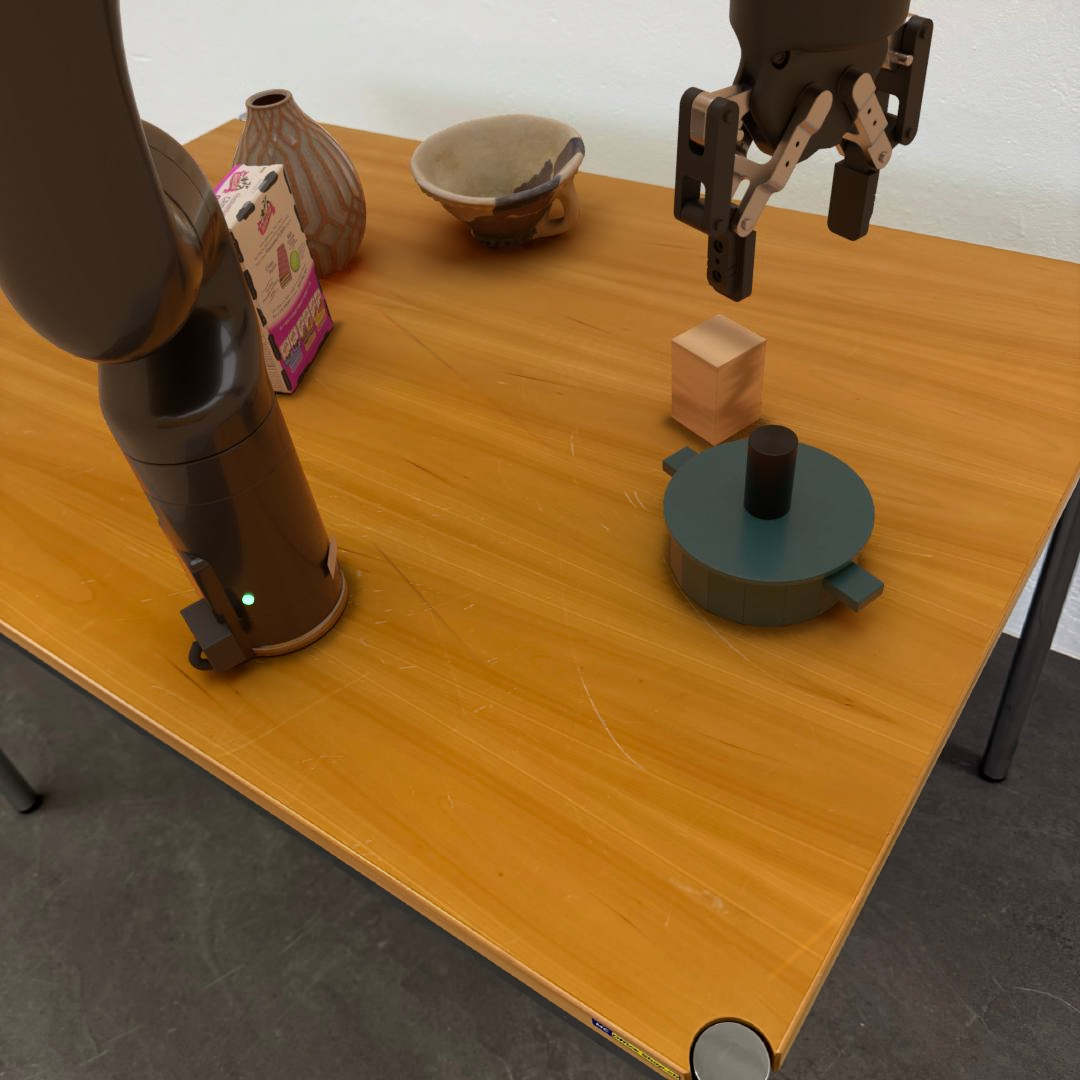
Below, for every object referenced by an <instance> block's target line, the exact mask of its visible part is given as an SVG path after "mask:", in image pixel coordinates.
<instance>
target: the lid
mask: <svg viewBox="0 0 1080 1080" xmlns="http://www.w3.org/2000/svg"><path fill="white" fill-rule="evenodd" d="M662 505H663V507H662V511H663V512H662V514H663V520H664V521H663V522H664V524H665V527H666V530H667V532H668V535H669V537H670V536H671V538H672V539H673V541H674V543H675V544H676V545H677V546H678V548H679V549H680V550H681V551H682V552H683V553H684V554H685V555H686V556H687V557H688V558H689V559H691V560H692V561H694V562H695V563H696V564H698V565H699V566H701V567H702V568H704V569H706V570H708V571H710V572H712V573H714V574H716V575H719V576H721V577H724V578H727V579H730V580H733V581H737V582H741V583H746V584H751V585H760V586H790V585H798V584H803V583H808V582H812V581H816V580H819V579H822V578H825V577H827V576H829V575H831V574H834V573H836V572H838V571H839V570H841V569H842V568H844V567H846V566H847V565H848V564H850V563H851V562H852V561H853V560H854V559H856V558H857V556H858V555H859V556H860V554H861V553H862V552H863V551H864V550H865V548H866V546H867V545H868V543H869V541H870V539H871V536H872V534H873V531H874V526H875V520H876V511H875V510H876V509H875V504H874V499H873V496H872V494H871V492H870V489H869V488H868V486H867V484H866V483H865V481H864V480H863V479H862V477H861V476H860V475H859V474H858V473H857V472H856V471H855V469H853V468H852V467H851V466H850V465H848V464H847V463H846V462H844V461H843V460H841V459H840V458H838V457H837V456H835V455H834V454H831V453H830V452H828V451H825V450H823V449H821V448H818V447H816V446H814V445H810V444H807V443H803V442H800V441H799V437H798V435H797V433H796V432H794V430H792V429H791V428H789V427H788V426H784V425H781V424H771V423H770V424H765V425H761V426H758V427H756V428H755V429H753V430H752V431H751V432H750V434H749V435H748V438H742V439H737V440H732V441H731V440H730V441H727V442H724V443H723V442H722V443H719V444H717V445H715V446H712V447H708V448H706V449H704V450H702V451H700V452H698V454H697V455H695V456H694V457H692V458H691V459H689V460H688V461H687V462H686V463H684V464H683V465H682V466H681V467H680V468H679V469H678V470H677V472H676V473H675V474H674V475H673V477H671V478H670V480H669V482H668V483H667V485H666V488H665V491H664V495H663V502H662Z"/></svg>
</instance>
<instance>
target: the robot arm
mask: <svg viewBox="0 0 1080 1080" xmlns="http://www.w3.org/2000/svg"><path fill="white" fill-rule="evenodd" d="M911 1H912V0H729V9H728V19H729V24H730V26H731V29H732V30H733V32H734V34H735V36H736V39H737V41H738V44H739V47H740V59H739V64H738V67H737V70H736V73H735V76H734V79H733V81H732V84H731V85H730V86H726V87H724V88H720V89H717V90H715V91H711V92H710V91H707V90H704V89H702V88H698V87H697V86H690V87H688V88H687V89H685V91H684V92H683V93H682V95H681V96H680V100H679V108H678V109H679V110H678V123H677V124H678V126H677V140H676V141H677V142H676V143H677V145H676V159H675V160H676V161H675V165H676V166H675V176H674V177H675V179H674V195H673V196H674V197H673V217H674V218H675V220H677V221H678V222H681V223H683V224H685V225H687V226H688V227H690V228H693V229H695V230H696V231H698V232H701V233H703V234H705V235H706V236H707V256H706V257H707V261H706V280H707V283H708V285H709V286H710V287H712V288H713V290H714V291H715V292H716V293H718V294H720V295H721V296H723V297H725V298H727V299H729V300H731V301H733V302H734V303H740V302H741V301H744V300H746V299H747V298H749V297H751V295H752V293H753V282H754V270H755V254H756V245H757V244H756V242H757V231H756V230H754V228H755V227H756V225H757V223H758V221H759V219H760V217H761V215H762V213H763V211H764V209H765V207H766V205H767V203H768V201H769V199H770V197H771V196H772V195H773V194H776V193H780V192H781V191H782V190H784V188H785V187H786V185H787V183H788V181H789V180H790V178H791V176H792V174H793V172H794V170H795V168H796V166H797V165H798V164H801V163H802V162H804V161H806V160H808V159H809V158H810V157H812V156H813V155H814V154H816V153H817V152H818V151H819V150H825V149H832V148H835V149H836V150H837V152H838V154H839V156H842V157H843V159H840V160H839V161H837V162H835V163H834V165H833V166H834V167H833V175H832V182H831V190H830V197H829V205H828V212H827V218H826V219H827V220H826V225H827V228H828V230H829V231H830V232H831V233H833V234H835V235H836V236H838V237H842V238H843V239H846V240H849V241H851V242H856V241H858V240H860V239H861V238H864V237H865V236H867V235H868V233H869V229H870V228H869V227H870V223H871V218H872V215H874V214H873V213H874V208H875V202H876V197H877V196H876V195H877V190H878V184H879V178H880V172H881V170H882V169H884V168H886V166H887V165H888V163H889V162H890V161H891V158H892V154H893V150H894V149H895V148H896V147H897V146H898V145H901V146H905V147H906V146H909V145H911V143H912V142H913V141H914V140H915V138H916V136H917V134H918V131H919V123H920V117H921V112H922V111H921V110H922V105H923V100H924V99H923V98H924V92H925V86H926V78H927V73H928V66H929V61H930V60H929V59H930V54H931V53H930V52H931V46H932V39H933V33H934V21H933V19H931V18H929V17H925V16H924V17H923V16H920V15H918V14H915V13H912V12H910V6H911ZM121 13H122V12H121V0H0V289H1V291H2V292H3V294H4V296H5V298H6V299H7V301H8V302H9V304H10V305H11V306H12V307H13V309H14V310H15V311H16V313H17V314H18V315H19V317H20V318H22V320H23V321H24V322H25V323H26V324H27V325H28V326H30V328H31V329H32V330H34V331H35V333H37V334H38V335H39V336H41V337H42V338H43V339H45V340H46V341H48V342H49V343H51V344H52V345H54V346H55V347H56V348H58V349H60V350H62V351H64V352H66V353H68V354H70V355H72V356H74V357H75V358H79V359H83V360H85V361H89V362H92V363H97V376H98V377H97V378H98V379H97V381H98V383H97V384H98V385H97V386H98V389H97V390H98V392H97V393H98V402H99V407H100V412H101V414H102V416H103V419H104V421H105V423H106V425H107V428H108V429H109V431H110V433H111V435H112V436H113V439H114V440H115V442H116V444H117V445H118V447H119V449H120V451H121V453H122V454H123V456H124V458H125V460H126V463H127V464H128V465H129V467H130V469H131V470H132V473H133V474H134V477H135V478H136V480H137V482H138V484H139V486H140V487H141V490H142V491H143V493H144V494H145V497H146V498H147V500H148V502H149V504H150V506H151V507H152V509H153V511H154V513H155V515H156V517H157V523H158V525H159V527H160V529H161V531H162V533H163V535H164V536H165V538H166V540H167V542H168V543H169V546H170V547H171V549H172V551H173V553H174V554H175V557H176V558H177V560H178V562H179V564H180V565H181V568H182V569H183V571H184V573H185V575H186V576H187V579H188V580H189V582H190V584H191V585H192V588H193V589H194V591H195V593H196V595H197V596H198V598H199V600H197V601H195V602H193V603H190V604H189V605H187V606H186V607H184V608H181V609H180V610H179V614H180V615H181V617H182V620H183V621H184V622H185V624H186V626H187V628H188V629H189V631H190V633H191V634H192V636H193V638H194V639H195V640H194V641H192V643H191V646H190V649H189V652H188V662H189V664H190V665H191V667H192V668H194V669H196V670H199V671H203V672H204V671H205V672H208V671H215V673H216V675H217V676H220V675H222V674H223V673H225V672H227V671H228V670H230V669H232V668H234V667H236V666H238V665H239V664H242V663H246V662H247V661H249V660H251V659H253V658H255V657H272V656H279V655H285V654H288V653H292V652H295V651H297V650H300V649H302V648H304V647H306V646H308V645H310V644H312V643H313V642H315V641H317V640H318V639H319V638H321V637H322V636H324V634H326V633H327V632H328V631H329V630H330V629H331V628H332V627H333V626H334V625H335V624H336V623H337V621H338V620H339V619H340V617H341V615H342V614H343V612H344V610H345V608H346V604H347V601H348V595H349V589H348V587H349V586H348V582H347V580H346V576H345V574H344V571H343V568H342V567H341V564H340V563H339V560H338V558H337V555H338V547H339V545H338V543H337V540H336V537H335V535H334V532H333V530H331V537H330V538H329V534H328V533H327V529H326V527H325V524H324V522H323V519H322V516H321V514H320V511H319V509H318V506H317V503H316V501H315V497H314V495H313V492H312V489H311V487H310V485H309V482H308V478H307V476H306V474H305V471H304V469H303V466H302V463H301V460H300V457H299V455H298V451H297V450H296V446H295V444H294V442H293V439H292V436H291V434H290V431H289V427H288V425H287V422H286V420H285V417H284V415H283V411H282V409H281V406H280V404H279V401H278V398H277V396H276V392H274V391H273V387H272V384H271V382H270V379H269V376H268V373H267V370H266V365H265V359H264V351H263V343H262V336H261V330H260V326H259V321H258V317H257V314H256V311H255V307H254V304H253V301H252V298H251V295H250V292H249V289H248V286H247V283H246V280H245V276H244V273H243V270H242V267H241V264H240V261H239V258H238V255H237V252H236V249H235V246H234V243H233V240H232V237H231V234H230V231H229V228H228V225H227V222H226V220H225V217H224V214H223V212H222V209H221V207H220V204H219V202H218V199H217V197H216V195H215V192H214V190H213V189H214V188H213V186H212V184H211V182H210V181H209V179H208V177H207V175H206V173H205V172H204V170H203V169H202V167H201V166H200V164H199V163H198V162H197V160H195V158H194V157H193V155H192V154H191V153H190V152H189V151H188V150H187V149H186V148H185V147H184V146H183V145H182V144H181V143H180V142H179V141H178V140H177V139H176V138H174V137H173V136H172V135H170V134H169V133H168V132H166V131H165V130H163V129H162V128H160V127H159V126H157V125H155V124H153V123H151V122H149V121H146V120H145V119H142V118H141V116H140V111H139V108H138V105H137V101H136V96H135V93H134V88H133V84H132V81H131V75H130V71H129V66H128V60H127V54H126V49H125V43H124V35H123V24H122V15H121ZM891 96H894V97H896V99H897V100H898V106H897V113H896V114H894V113H891V112H889V103H890V97H891ZM752 143H754V145H755V147H756V148H757V149H758V150H759V151H760V152H761V153H762V154H765V155H768V156H770V157H771V158H770V159H769V160H768V161H767V162H765V163H758V162H757V161H753V160H751V159H749V158H748V153H749V152H748V151H749V149H750V147H751V146H752ZM744 180H745V181H746V180H747V181H749V184H748V186H747V188H746V190H745V192H744V195H743V197H742V198H741V200H740V202H739V204H737V203H734V202H732V200H733V198H734V196H735V194H736V192H737V190H738V189H739V186H740V184H741V183H742V182H743V181H744ZM702 185H703V187H704V197H701V189H702ZM202 653H203V654H204V656H205V658H203V657H202Z"/></svg>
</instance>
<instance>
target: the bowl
mask: <svg viewBox="0 0 1080 1080" xmlns="http://www.w3.org/2000/svg"><path fill="white" fill-rule="evenodd" d="M585 156H586V146H585V142H584V140H583V137H582V135H581V134H580V133H579V132H578V131H577V130H576V129H575V128H574V127H572V126H570V125H569V124H567V123H565V122H562V121H559V120H556V119H554V118H550V117H545V116H539V115H534V114H527V113H519V114H518V113H512V114H511V113H510V114H501V115H496V116H495V115H494V116H488V117H482V118H476V119H475V118H474V119H470V120H465V121H464V122H460V123H457V124H453V125H452V126H449V127H446V128H444V129H441V130H439V131H437V132H435V133H433V134H432V135H430V136H429V137H427V138H426V139H424V140H423V141H422V142H421V143H419V144H418V145H417V147H416V148H415V149H414V150H413V153H412V155H411V157H410V160H409V169H410V172H411V175H412V177H413V179H414V181H415V183H416V184H417V186H419V188H420V189H419V190H420V191H421V192H422V193H423V194H426V196H427V197H428V198H432V200H433V201H435V202H439V203H440V205H441V206H442V207H443V208H444V209H445V210H446V211H447V212H448V213H449V214H450V215H452V216H453V217H454V218H456V219H457V220H458V221H460V222H462V223H463V224H464V225H466V226H467V227H468V228H470V229H471V230H470V234H471V236H472V237H473V240H474V241H475V242H477V243H479V244H481V245H483V246H484V247H488V248H491V249H499V248H502V247H507V246H509V247H513V246H515V245H522V244H523V243H524V242H525V243H526V242H532V241H533V240H535V239H539V238H549V237H554V236H557V235H562V234H564V233H567V232H568V231H570V230H572V229H573V228H574V227H575V226H576V225H577V222H578V221H579V219H580V216H581V203H580V198H579V196H578V193H577V191H576V187H575V182H574V179H575V176H576V175H577V174H578V173H579V168H580V166H581V165H582V163H583V161H584V158H585ZM557 199H558V200H559V201H560V203H561V204H562V207H563V215H562V216H561V217H556V218H555V217H554V218H553V217H550V214H551V211H552V207H553V203H554V202H555V200H557Z"/></svg>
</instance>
